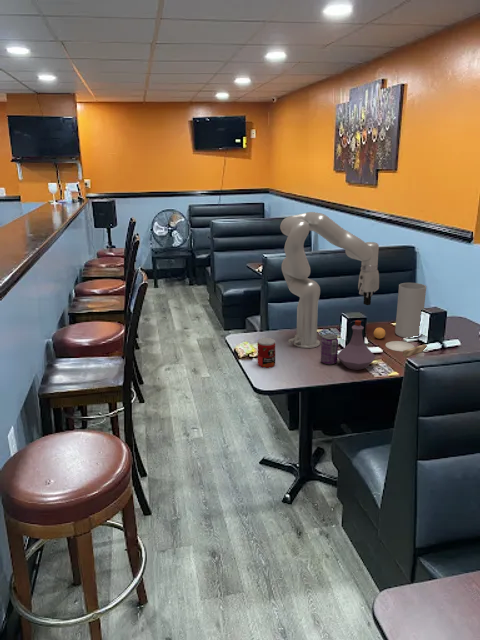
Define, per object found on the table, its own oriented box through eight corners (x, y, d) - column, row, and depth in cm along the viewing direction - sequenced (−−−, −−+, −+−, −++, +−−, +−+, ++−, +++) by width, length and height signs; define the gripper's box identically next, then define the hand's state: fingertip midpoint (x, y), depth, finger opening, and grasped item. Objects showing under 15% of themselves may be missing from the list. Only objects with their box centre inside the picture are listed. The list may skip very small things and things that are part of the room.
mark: (401, 353, 225) (401, 353, 225) (379, 345, 236) (379, 344, 236) (420, 347, 232) (420, 347, 231) (398, 339, 242) (398, 339, 242)
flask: (333, 358, 222) (335, 315, 215) (371, 358, 221) (374, 315, 214) (338, 373, 206) (340, 327, 200) (378, 373, 205) (382, 327, 199)
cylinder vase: (423, 339, 242) (428, 289, 234) (396, 338, 244) (400, 288, 236) (419, 330, 254) (424, 283, 246) (393, 329, 256) (397, 282, 248)
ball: (379, 341, 241) (380, 330, 239) (370, 337, 245) (371, 327, 243) (387, 338, 243) (388, 328, 242) (378, 335, 248) (379, 325, 246)
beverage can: (338, 360, 219) (339, 334, 216) (335, 366, 213) (337, 339, 209) (322, 358, 222) (323, 332, 218) (319, 364, 215) (320, 338, 211)
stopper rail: (405, 356, 221) (405, 351, 221) (402, 355, 223) (403, 350, 222) (426, 350, 228) (427, 345, 227) (423, 349, 229) (424, 344, 229)
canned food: (263, 369, 211) (263, 345, 208) (254, 363, 218) (254, 339, 214) (278, 366, 214) (279, 342, 211) (269, 359, 221) (269, 336, 218)
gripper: (363, 271, 235) (361, 308, 241) (386, 267, 242) (383, 303, 248) (352, 268, 241) (350, 305, 247) (374, 264, 248) (372, 300, 254)
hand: (366, 304), depth 247 cm, fingers closed
